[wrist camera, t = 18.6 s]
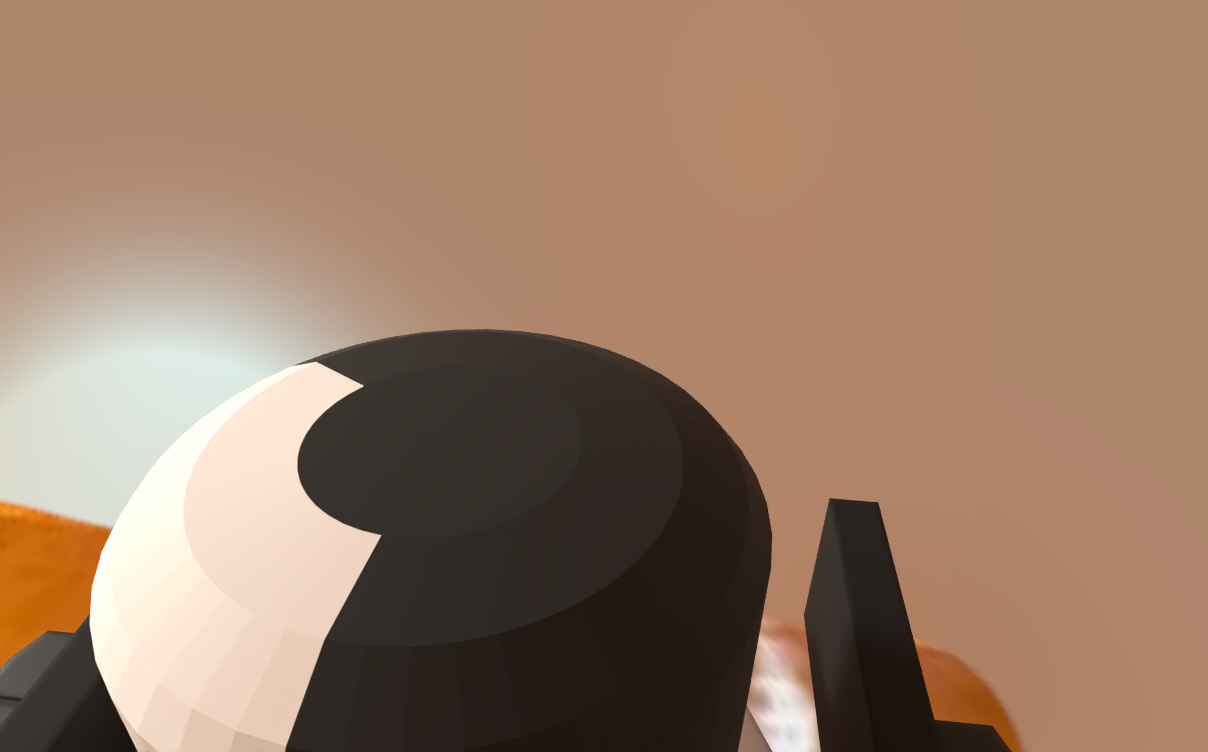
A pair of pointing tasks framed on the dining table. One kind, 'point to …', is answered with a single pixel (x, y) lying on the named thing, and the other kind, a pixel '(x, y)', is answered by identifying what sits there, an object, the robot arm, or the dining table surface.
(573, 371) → the medicine bottle
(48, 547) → the dining table surface
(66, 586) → the dining table surface
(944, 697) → the dining table surface
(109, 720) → the robot arm
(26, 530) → the dining table surface
